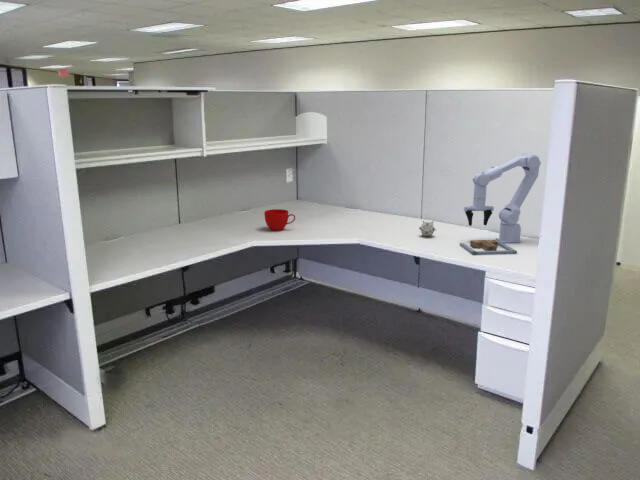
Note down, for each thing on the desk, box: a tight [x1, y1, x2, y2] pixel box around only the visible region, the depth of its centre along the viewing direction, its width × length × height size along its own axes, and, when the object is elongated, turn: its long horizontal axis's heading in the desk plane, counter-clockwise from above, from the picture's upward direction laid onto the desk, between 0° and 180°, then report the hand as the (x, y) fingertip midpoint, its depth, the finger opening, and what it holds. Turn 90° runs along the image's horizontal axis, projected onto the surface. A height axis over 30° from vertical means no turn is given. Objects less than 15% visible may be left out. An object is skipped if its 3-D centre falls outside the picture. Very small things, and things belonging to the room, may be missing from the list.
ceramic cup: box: [263, 208, 296, 232], centre depth 294 cm, size 13×17×10 cm
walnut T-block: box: [469, 239, 499, 251], centre depth 257 cm, size 12×12×3 cm
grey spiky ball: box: [418, 220, 437, 238], centre depth 280 cm, size 9×8×10 cm
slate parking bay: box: [459, 241, 518, 256], centre depth 256 cm, size 21×17×1 cm
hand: (477, 225), depth 268 cm, fingers open, 7 cm apart
